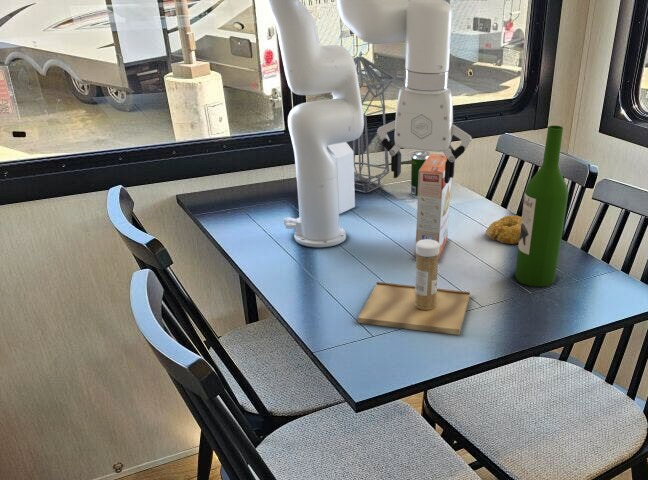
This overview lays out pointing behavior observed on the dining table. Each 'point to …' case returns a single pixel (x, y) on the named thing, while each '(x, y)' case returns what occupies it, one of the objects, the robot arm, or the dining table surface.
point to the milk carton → (344, 174)
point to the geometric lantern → (392, 78)
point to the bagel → (505, 229)
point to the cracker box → (433, 201)
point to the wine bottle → (543, 218)
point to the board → (414, 309)
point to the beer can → (417, 169)
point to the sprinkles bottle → (426, 274)
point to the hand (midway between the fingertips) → (422, 178)
